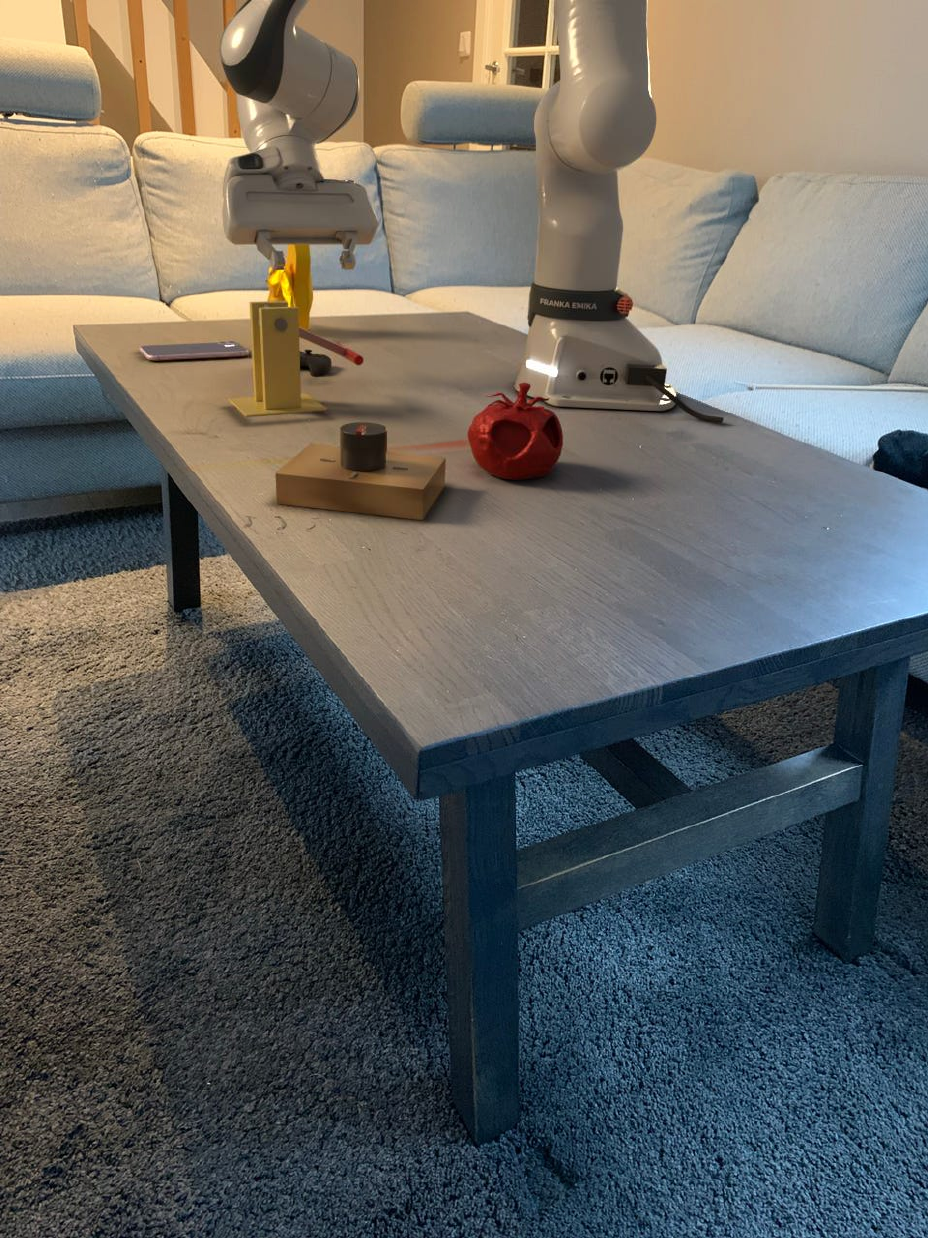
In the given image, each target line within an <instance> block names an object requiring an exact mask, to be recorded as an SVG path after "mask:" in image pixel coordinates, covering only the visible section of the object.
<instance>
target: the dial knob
mask: <svg viewBox="0 0 928 1238" xmlns="http://www.w3.org/2000/svg"><path fill="white" fill-rule="evenodd" d="M339 433H340V435H339V446H340V462H341V466H342V467H344V468H346V469H350V470H354V471H375V470H380V469H383V468H384V467H386V465H387V451H388V428H387V426H385V425H383V424H379V423H375V422H369V421H366V422H365V421H357V422H349V423H346V424H345V423H344V424H343V425H341V426H340V428H339Z"/></svg>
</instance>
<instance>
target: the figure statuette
mask: <svg viewBox="0 0 928 1238" xmlns="http://www.w3.org/2000/svg"><path fill="white" fill-rule="evenodd" d="M310 247H311V246H310V245H287V250H286V257H284V258H285V262H286V264H285V266H284V270H272V268H271V266H270V267H269V268H268V274H269V275H268V277H267V278H266V279H265V283H266V285H267V288H268V291H269V293H268V296H267V300H266V301H286V302H288V307H297V308H298V313H299V327H300V328H302V329H305V330H307V331H309V326H310V314H311V309H312V306H313V301H314V290H313V289H314V288H313V280H312V271H311V270H312V269H311V260H312V259H311V258H312V257H311V249H310Z"/></svg>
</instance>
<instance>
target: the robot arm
mask: <svg viewBox="0 0 928 1238" xmlns="http://www.w3.org/2000/svg"><path fill="white" fill-rule="evenodd" d="M309 1H310V0H246V1H245V2H244V3H243V4H242V6H241V7H240V8H239V9H238V10H236V12H235V13H234V14H233V15H232V16H231V18H230V19H229V21H228V22H227V24H226V26H225V28H224V30H223V32H222V35H221V38H220V41H219V57H220V62H221V66H222V69H223V72H224V75H225V77H226V79H227V82H228V83H229V85H230V86H231V88H232V91H234V93H236V108H237V109H236V110H237V116H238V121H239V125H240V130H241V133H242V137H243V140H244V144H245V146H246V148H247V150H248V151H249V152H248V153H245V154H240V155H237V156H233V157H230V158H229V160H228V162H227V166H226V167H225V171H224V176H223V181H222V197H223V203H222V209H221V218H222V226H223V232H224V235H225V238H226V239H227V240H228V241H229V242H230V243H231V244H233V245H240V246H241V245H242V246H243V245H244V246H245V245H249V246H250V245H253V246H254V245H256V248H257V251H258V252H259V253H260V254H261V255H262V256H263V257H265V258H266V259H267V260H268V261H269V264H270V267H271V268H272V270H284V266H285V264H286V263H287V261H286V262H285V258H286V257H285V254H284V251H283V250H277V249H276V248H275V247H274V246H273V245H277V246H278V245H281V246H282V245H287V246H288V245H312V246H313V245H314V246H317V245H323V246H325V245H326V246H327V245H335V246H336V245H337V246H338V245H340V246H341V245H342V246H343V250H342V251H341V255H340V257H339V259H338V260H339V264H340V265H341V269H342V270H347V271H348V270H354V269H355V267H356V263H357V261H356V256H355V253H354V251H355V248H356V246H359V245H361V246H364V245H365V246H366V245H368V246H369V245H370V244H371V243H372V242H373V241H374V239H375V237H376V235H377V233H378V230H379V226H380V223H379V219H378V216H377V213H376V212H375V208H374V207H373V205H372V202H371V201H370V197H369V194H368V191H367V189H366V187H364V186H363V185H361V184H359V183H356V181H354V180H352V179H335V178H325V177H324V174H323V170H322V167H321V163H320V160H319V156H318V154H317V150H316V147H315V146H316V145H318V144H321V143H323V142H325V141H327V140H328V139H329V138H331V137H332V136H333V135H334V134H337V132H338V131H340V130H341V129H343V128H344V127H345V126H346V125H347V124H348V123H349V121H350V120H351V119H352V118H353V116H354V115H355V113H356V111H357V109H358V106H359V105H358V104H359V100H360V92H361V91H360V87H361V86H360V85H361V84H360V75H359V72H358V68H357V66H356V63H355V62H354V60H353V59H352V58H351V57H350V56H348V55H347V54H344V52H342V51H340V50H339V49H338V48H336V47H334V46H332V45H331V44H329V43H327V42H325V41H324V40H322V39H320V38H317V37H316V36H314V35H313V34H311V33H309V32H308V31H306V30H305V29H303V28H302V27H299V26H298V25H296V22H297V20H298V18H299V16H300V15H301V14H302V12H303V11H304V9H305V8H306V6H307V5H308V3H309ZM648 2H649V0H553V19H554V22H555V26H556V33H557V42H558V43H557V44H558V58H559V75H560V76H559V77H560V79H559V80H558V81H557V82H555V83H554V84H553V85H552V86H551V87H549V89H548V90H547V91H546V92H545V93H544V95H543V96H542V98H541V100H540V101H539V104H538V105H537V107H536V110H535V112H534V113H535V114H534V119H533V132H534V137H535V169H536V170H535V171H536V191H537V207H538V208H537V210H538V213H537V214H538V221H537V222H538V223H537V237H536V238H537V241H536V253H535V266H534V280H533V282H532V283H531V284H530V288H529V293H528V302H527V317H526V318H527V319H526V320H527V325H528V333H527V338H526V344H525V349H524V353H523V356H522V362H521V365H520V369H519V372H518V375H517V377H516V380H515V382H514V385H513V386H514V389H515V390H516V391H517V392H518V393H520V387H519V384H520V383H528V384H530V389H529V391H528V392H527V397H530V398H533V399H534V398H535V397H542V398H545V399H548V398H549V400H548V401H544V402H546V403H547V404H549V405H551V406H555V407H563V408H584V409H606V410H607V409H608V410H626V411H627V410H629V411H646V412H647V411H648V412H649V411H651V412H653V411H654V412H664V411H668V410H670V409H672V408H674V407H675V406H678V408H680V409H681V410H682V411H684V412H685V413H687V414H688V415H689V416H692V417H694V418H696V419H699V420H702V421H705V422H711V423H720V424H722V423H723V422H724V416H723V417H722V416H717V415H709V414H704V413H702V412H701V413H700V412H699V411H697V410H694V409H693V408H691V407H690V406H688V405H687V404H685V402H683V401H682V400H681V399H679V398H678V397H677V396H678V395H677V390H676V389H675V388H674V387H673V386H671V385H670V384H667V383H666V379H667V371H668V368H667V367H666V366H665V365H664V364H663V358H662V355H661V353H660V351H659V349H658V348H657V347H656V346H655V344H654V343H653V342H652V341H651V340H649V338H647V337H646V335H645V334H643V333H642V331H641V330H640V329H638V328H637V327H636V326H635V325H634V324H633V323H632V322H631V321H630V320H629V319H628V317H629V315H630V311H632V310H633V307H634V301H633V299H632V297H631V296H629V294H628V293H627V292H624V291H623V290H622V289H620V288H619V287H618V279H619V270H620V261H621V253H622V244H623V235H624V234H623V233H624V222H623V221H624V220H623V217H622V213H621V208H620V198H619V197H620V195H619V180H618V178H619V177H618V172H619V171H622V170H623V169H625V168H627V167H629V166H630V165H632V164H633V163H634V162H636V161H637V160H639V159H640V158H641V157H642V156H643V155H644V154H645V153H646V151H647V150H648V149H649V147H650V145H651V143H652V141H653V138H654V136H655V132H656V127H657V110H656V105H655V102H654V99H653V97H652V93H651V82H650V81H651V80H650V60H649V47H648V4H649V3H648Z"/></svg>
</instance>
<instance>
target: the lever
mask: <svg viewBox="0 0 928 1238" xmlns="http://www.w3.org/2000/svg"><path fill="white" fill-rule="evenodd" d="M264 307H269V306H267V305H265V306H264ZM258 325H260V320H259V321H258ZM299 338H300V339H302V340H305V341H307V342H310V343H312V344H315V345H316V346H319V347H321V348H323V349H326V350H328V351H330V352H332V353H335V354H337V355H339V356H341V357H343V358H344V359H346V360H348V361H350V362H351V363H353V364H354V365H356V366H361V365H362V364H364V359H365V358H364V357H363V356H362V355H360V354H359V353H357V352H355V351H354V350H352V349H351V348H349V347H347V346H345V345H343V344H341V343H340V342H333V341H331V340H330V339H326V338H325V337H323V336H320V335H318V334H316V333H313V332H311V331H309V330H308V331H307V330H305V329H302V328H300V327H299Z"/></svg>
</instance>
